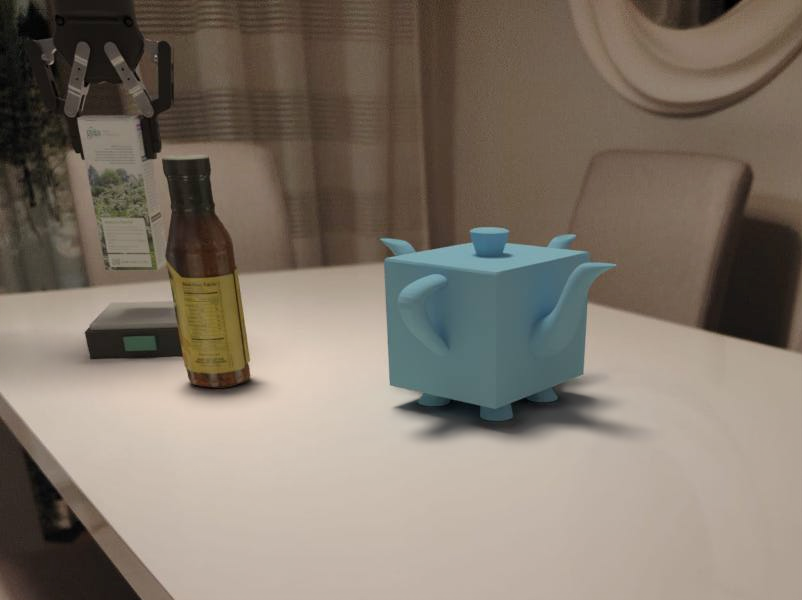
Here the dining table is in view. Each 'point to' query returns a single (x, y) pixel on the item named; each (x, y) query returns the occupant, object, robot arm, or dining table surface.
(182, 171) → the sauce bottle
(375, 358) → the dining table surface
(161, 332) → the scale
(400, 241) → the teakettle
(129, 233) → the syrup box
